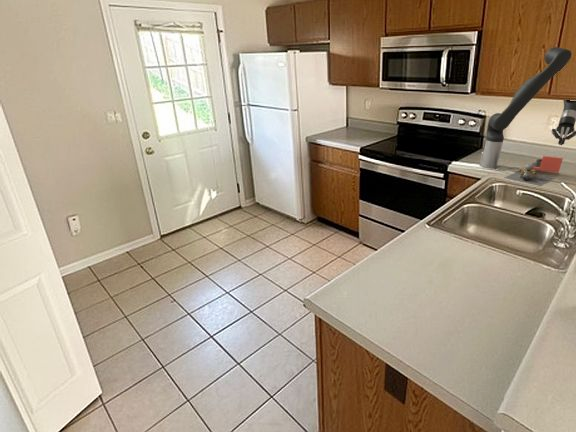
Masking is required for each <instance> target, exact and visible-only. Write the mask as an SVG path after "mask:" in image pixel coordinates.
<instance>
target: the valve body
mask: <svg viewBox="0 0 576 432" xmlns="http://www.w3.org/2000/svg"><path fill="white" fill-rule="evenodd" d="M535 173H536V171H535V170H528V169H525V167H521V174H520V178H523V180H524V181H530V180H533V178H534V174H535Z"/></svg>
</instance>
